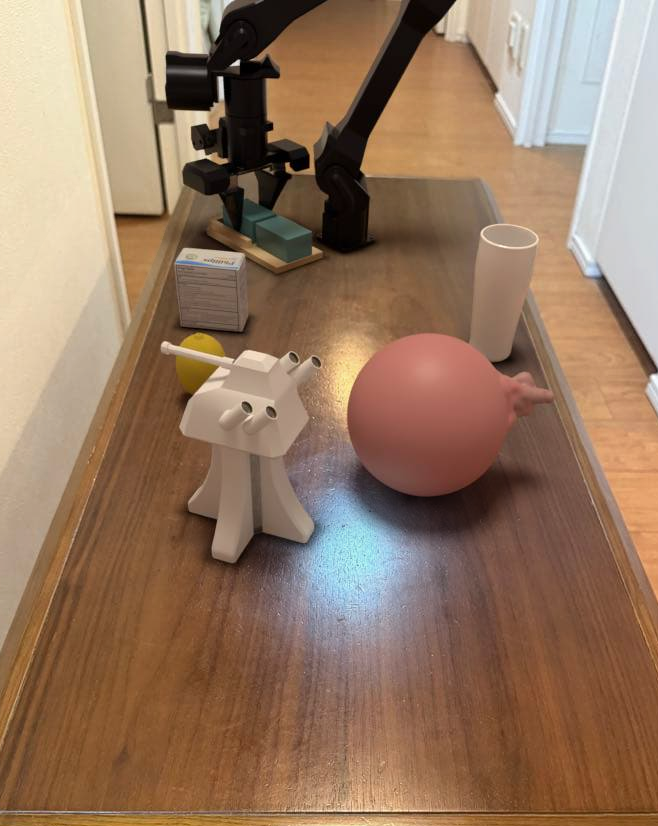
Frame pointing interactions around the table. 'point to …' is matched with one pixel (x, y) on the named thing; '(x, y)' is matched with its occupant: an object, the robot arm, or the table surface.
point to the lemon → (197, 362)
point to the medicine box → (212, 289)
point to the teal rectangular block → (250, 218)
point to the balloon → (434, 413)
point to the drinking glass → (500, 287)
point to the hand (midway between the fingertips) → (250, 225)
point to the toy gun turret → (248, 446)
